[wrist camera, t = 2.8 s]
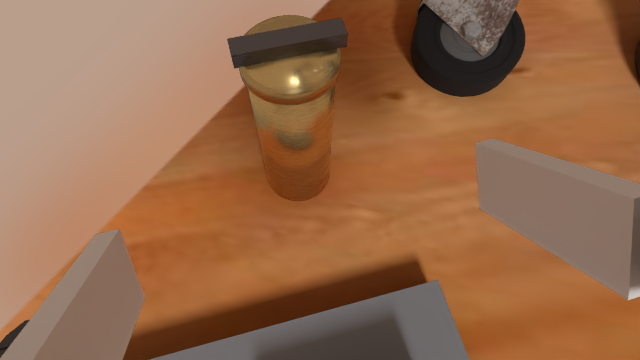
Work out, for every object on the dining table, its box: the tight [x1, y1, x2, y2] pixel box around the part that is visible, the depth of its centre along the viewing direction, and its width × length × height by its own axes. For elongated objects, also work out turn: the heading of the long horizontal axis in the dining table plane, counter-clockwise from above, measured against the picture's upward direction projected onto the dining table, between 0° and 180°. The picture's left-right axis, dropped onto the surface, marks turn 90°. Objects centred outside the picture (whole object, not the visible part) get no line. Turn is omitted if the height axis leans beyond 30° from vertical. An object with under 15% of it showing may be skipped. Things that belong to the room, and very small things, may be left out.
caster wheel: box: [411, 0, 525, 97], centre depth 33 cm, size 7×11×10 cm
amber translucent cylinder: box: [227, 15, 348, 201], centre depth 24 cm, size 5×5×13 cm
